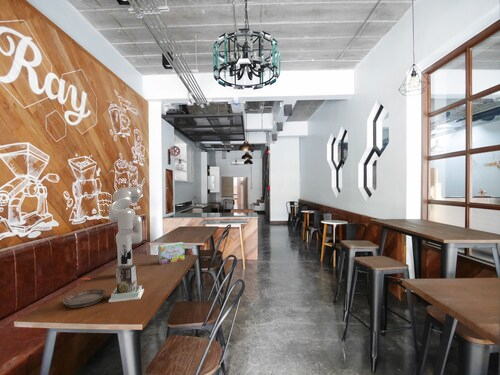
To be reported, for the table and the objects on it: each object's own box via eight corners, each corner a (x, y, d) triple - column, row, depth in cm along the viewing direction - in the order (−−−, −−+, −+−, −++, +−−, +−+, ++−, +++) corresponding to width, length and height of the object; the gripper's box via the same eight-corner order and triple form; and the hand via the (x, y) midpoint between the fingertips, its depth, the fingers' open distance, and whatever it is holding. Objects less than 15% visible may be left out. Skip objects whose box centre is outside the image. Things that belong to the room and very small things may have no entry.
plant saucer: (52, 309, 140) (52, 303, 140) (82, 293, 160) (82, 288, 160) (89, 310, 137) (88, 304, 137) (114, 294, 158) (114, 289, 158)
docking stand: (115, 293, 159) (115, 287, 159) (143, 290, 162) (143, 284, 162) (108, 302, 146) (108, 296, 146) (139, 299, 150) (139, 292, 150)
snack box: (160, 265, 217) (160, 246, 217) (158, 263, 221) (157, 245, 221) (184, 259, 231) (184, 242, 231) (181, 258, 235) (181, 241, 235)
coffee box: (137, 292, 158) (136, 264, 158) (132, 296, 151) (131, 267, 151) (122, 292, 158) (121, 264, 158) (116, 296, 152) (115, 267, 152)
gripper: (122, 229, 162) (123, 257, 162) (114, 235, 145) (115, 266, 146) (135, 228, 164) (136, 256, 164) (129, 234, 147) (130, 265, 147)
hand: (126, 261), depth 155 cm, fingers open, 9 cm apart
